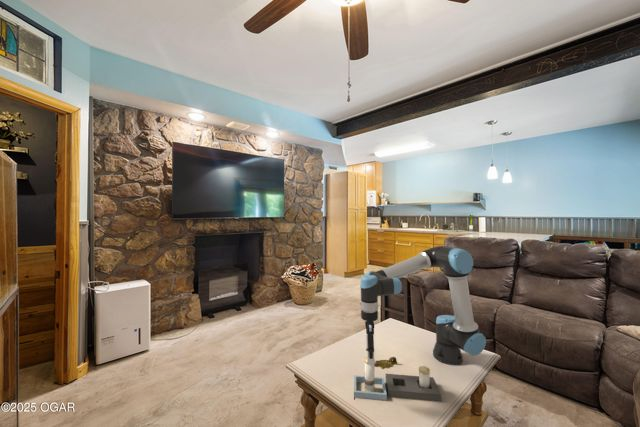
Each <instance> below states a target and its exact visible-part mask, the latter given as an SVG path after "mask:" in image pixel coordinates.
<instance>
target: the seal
mask: <svg viewBox="0 0 640 427" xmlns="http://www.w3.org/2000/svg"><path fill="white" fill-rule="evenodd" d="M394 365H396V366H398V360H397V358H396V356H390V357H389V359H388V360H387V359H378V360H375V368H381V369H382V370H384V369H390V368H393V367H394Z"/></svg>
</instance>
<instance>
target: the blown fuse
mask: <svg viewBox="0 0 640 427" xmlns="http://www.w3.org/2000/svg"><path fill="white" fill-rule="evenodd" d="M363 360H364V376H365V383H364V390H363V391H367V392H376V390H375V378H374V377H375V374H376V373H375V368H376V367H375V361H376V360H375V358H374V366H372V365H368V356H366V357H364V359H363Z"/></svg>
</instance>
